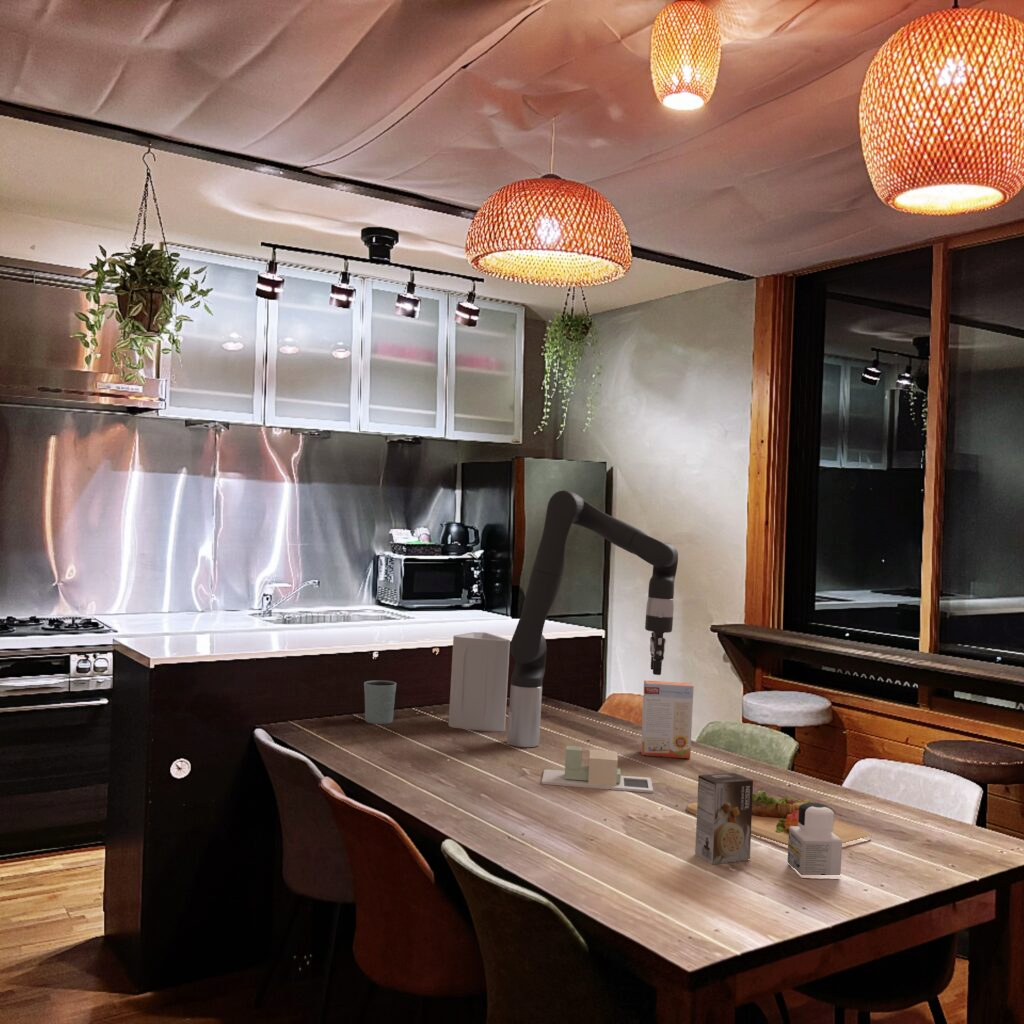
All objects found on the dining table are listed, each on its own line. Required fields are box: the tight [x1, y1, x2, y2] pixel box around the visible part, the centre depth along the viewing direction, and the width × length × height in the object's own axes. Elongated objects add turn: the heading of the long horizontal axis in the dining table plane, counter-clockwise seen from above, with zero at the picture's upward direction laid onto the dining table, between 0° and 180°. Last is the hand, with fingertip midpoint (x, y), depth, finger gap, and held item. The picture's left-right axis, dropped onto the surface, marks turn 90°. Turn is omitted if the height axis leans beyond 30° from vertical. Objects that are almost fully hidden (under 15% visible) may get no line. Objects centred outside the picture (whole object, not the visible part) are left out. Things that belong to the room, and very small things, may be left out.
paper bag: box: [448, 631, 511, 733], centre depth 302 cm, size 19×15×28 cm
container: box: [786, 802, 843, 875], centre depth 187 cm, size 8×8×13 cm
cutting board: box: [685, 790, 872, 845], centre depth 216 cm, size 35×23×8 cm
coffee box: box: [694, 772, 754, 865], centre depth 192 cm, size 9×6×16 cm
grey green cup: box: [363, 679, 397, 725], centre depth 301 cm, size 10×10×12 cm
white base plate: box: [541, 749, 654, 794], centre depth 243 cm, size 28×12×7 cm, turn 84°
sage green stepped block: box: [564, 745, 622, 783], centre depth 243 cm, size 14×6×7 cm, turn 84°
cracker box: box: [640, 680, 694, 760], centre depth 276 cm, size 14×6×21 cm, turn 84°
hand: (655, 672), depth 268 cm, fingers open, 8 cm apart
